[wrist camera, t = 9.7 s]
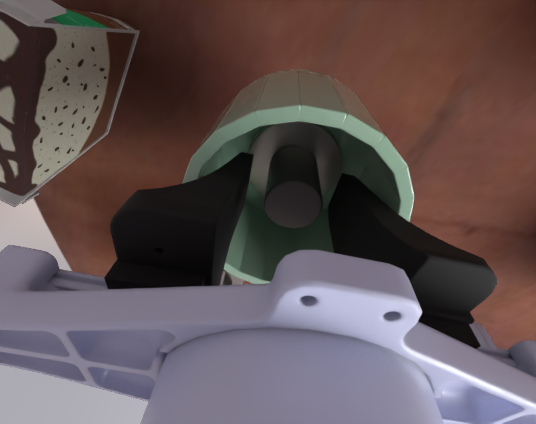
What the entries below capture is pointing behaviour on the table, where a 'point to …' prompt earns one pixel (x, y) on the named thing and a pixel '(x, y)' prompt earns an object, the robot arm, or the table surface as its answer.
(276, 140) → the lid
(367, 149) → the cup
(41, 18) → the food container
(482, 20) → the table surface
